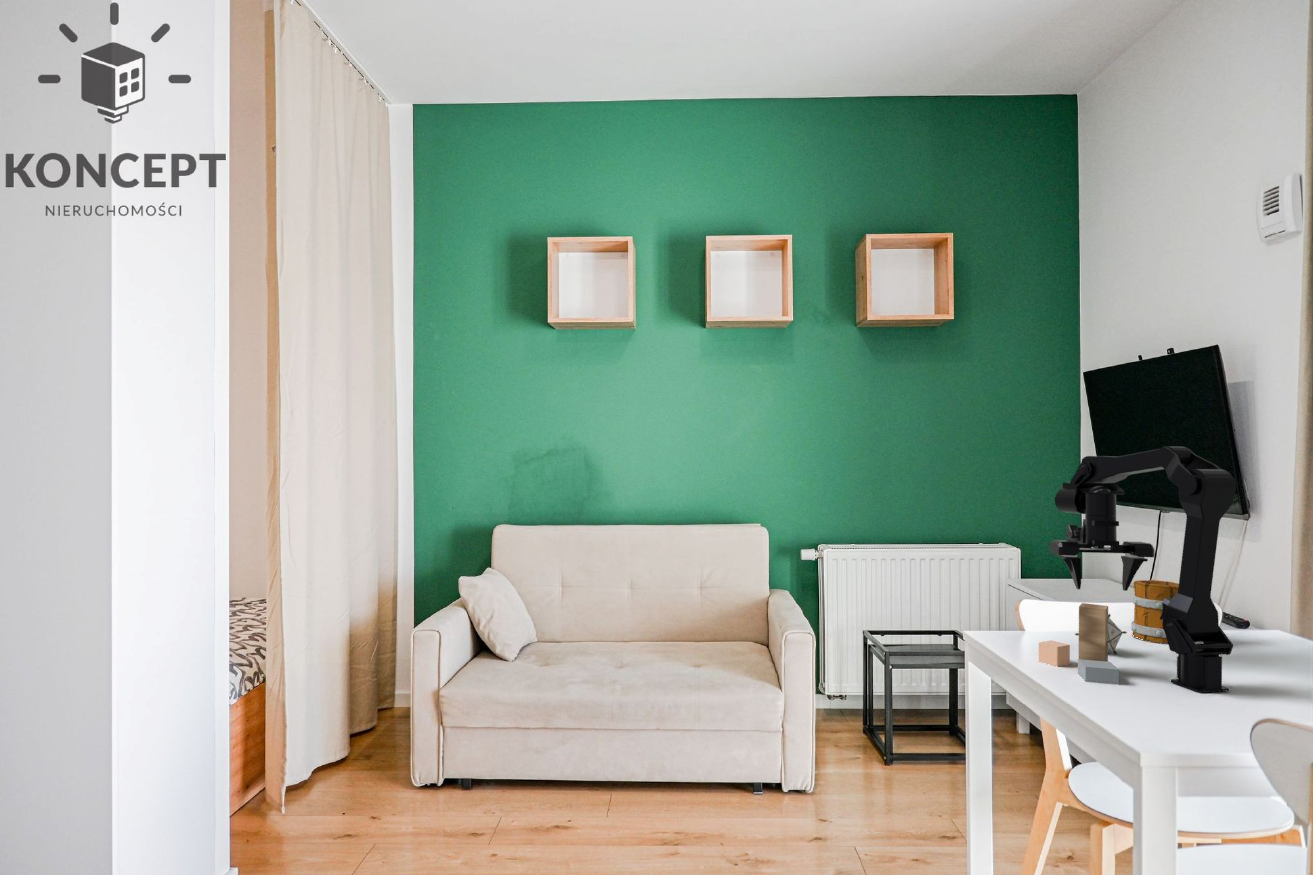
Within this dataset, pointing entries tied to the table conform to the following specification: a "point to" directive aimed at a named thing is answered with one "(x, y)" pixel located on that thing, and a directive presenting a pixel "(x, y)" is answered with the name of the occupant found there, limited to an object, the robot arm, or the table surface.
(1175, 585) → the mug
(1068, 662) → the clay block
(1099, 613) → the walnut block
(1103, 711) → the table surface
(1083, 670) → the slate block
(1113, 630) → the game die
